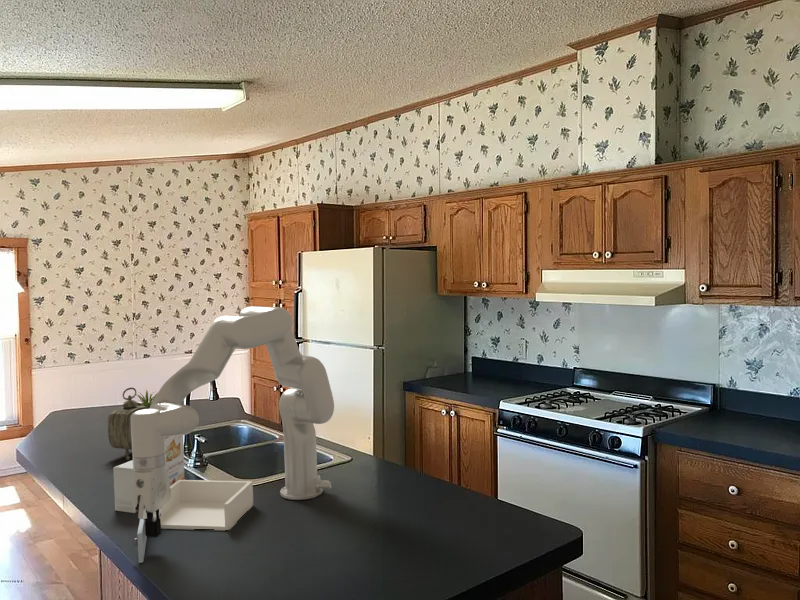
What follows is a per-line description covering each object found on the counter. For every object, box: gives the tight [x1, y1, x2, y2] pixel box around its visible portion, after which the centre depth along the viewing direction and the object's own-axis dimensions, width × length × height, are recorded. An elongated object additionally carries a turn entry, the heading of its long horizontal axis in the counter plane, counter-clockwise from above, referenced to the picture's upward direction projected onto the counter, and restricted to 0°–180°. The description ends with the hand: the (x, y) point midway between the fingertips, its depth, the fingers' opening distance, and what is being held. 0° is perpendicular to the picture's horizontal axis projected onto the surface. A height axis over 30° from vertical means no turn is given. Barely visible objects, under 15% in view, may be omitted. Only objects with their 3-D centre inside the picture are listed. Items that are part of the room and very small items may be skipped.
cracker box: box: [165, 435, 186, 486], centre depth 208 cm, size 14×6×21 cm, turn 168°
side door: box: [132, 519, 148, 564], centre depth 167 cm, size 22×2×7 cm, turn 17°
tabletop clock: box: [107, 387, 150, 461], centre depth 246 cm, size 14×9×25 cm, turn 161°
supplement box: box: [112, 459, 137, 514], centre depth 193 cm, size 7×7×13 cm
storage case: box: [148, 479, 254, 531], centre depth 185 cm, size 22×18×7 cm
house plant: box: [134, 389, 158, 407], centre depth 291 cm, size 14×14×16 cm
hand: (153, 535), depth 164 cm, fingers closed
